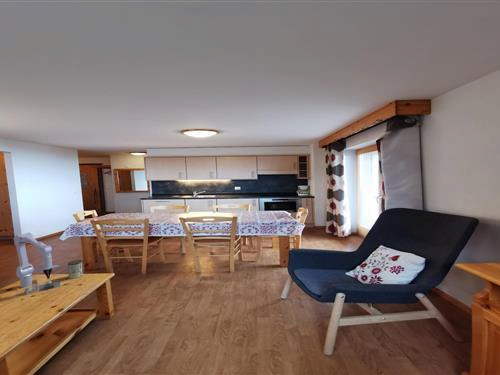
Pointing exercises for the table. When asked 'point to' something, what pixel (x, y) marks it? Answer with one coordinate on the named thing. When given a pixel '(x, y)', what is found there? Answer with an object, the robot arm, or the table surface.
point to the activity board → (40, 288)
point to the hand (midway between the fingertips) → (48, 278)
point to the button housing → (49, 286)
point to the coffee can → (75, 269)
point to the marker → (34, 285)
